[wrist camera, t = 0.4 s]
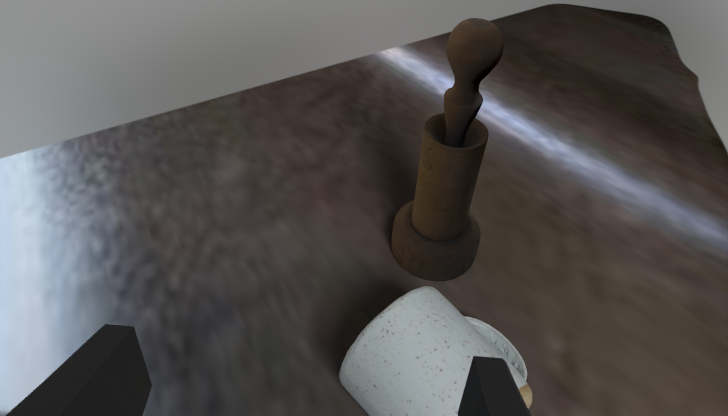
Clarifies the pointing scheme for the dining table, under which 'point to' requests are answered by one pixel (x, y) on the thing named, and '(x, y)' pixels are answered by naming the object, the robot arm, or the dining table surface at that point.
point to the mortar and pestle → (450, 165)
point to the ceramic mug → (422, 357)
